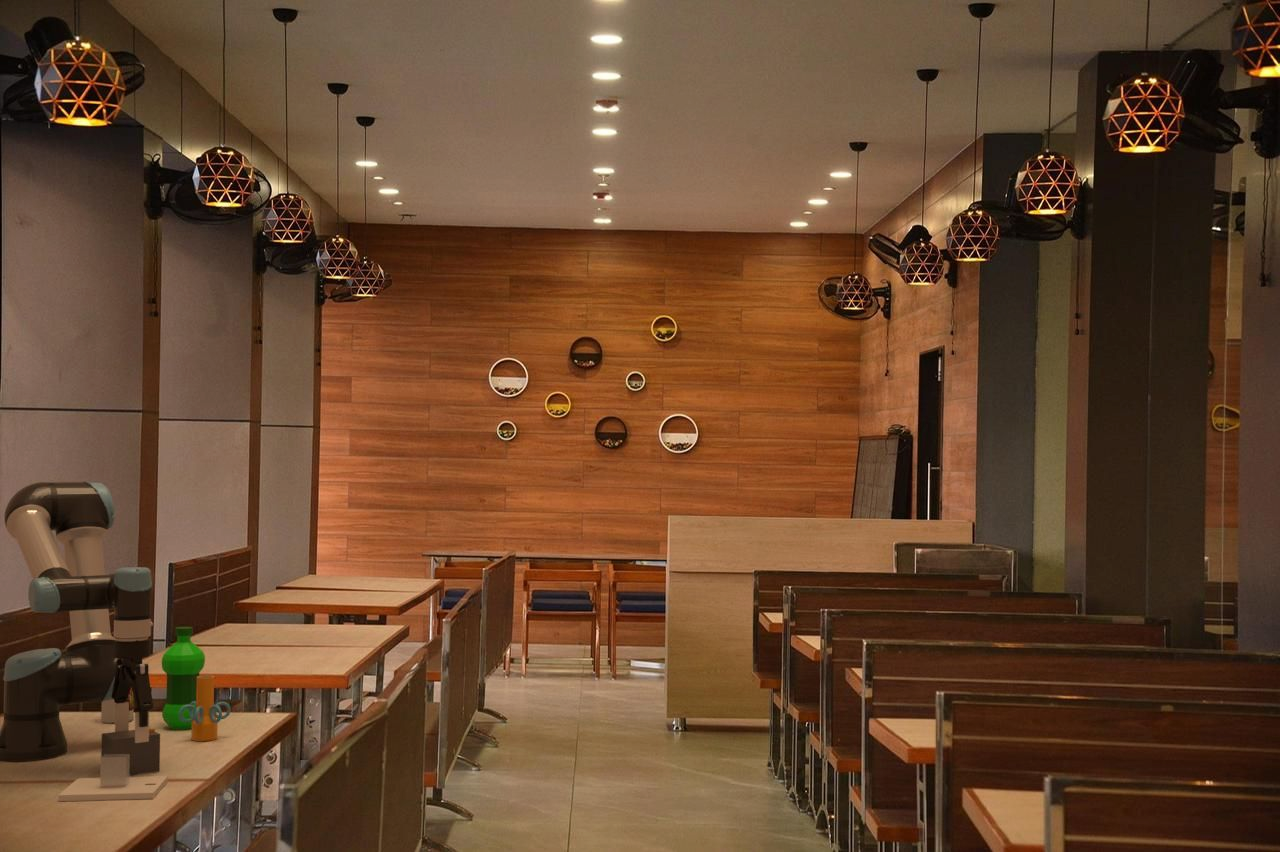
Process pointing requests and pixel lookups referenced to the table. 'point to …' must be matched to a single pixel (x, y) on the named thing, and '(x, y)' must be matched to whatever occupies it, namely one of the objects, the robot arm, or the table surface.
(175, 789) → the table surface
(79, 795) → the board
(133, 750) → the dark grey block
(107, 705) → the milk bottle
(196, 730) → the orange tube with rings
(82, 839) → the table surface
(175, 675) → the plastic bottle
